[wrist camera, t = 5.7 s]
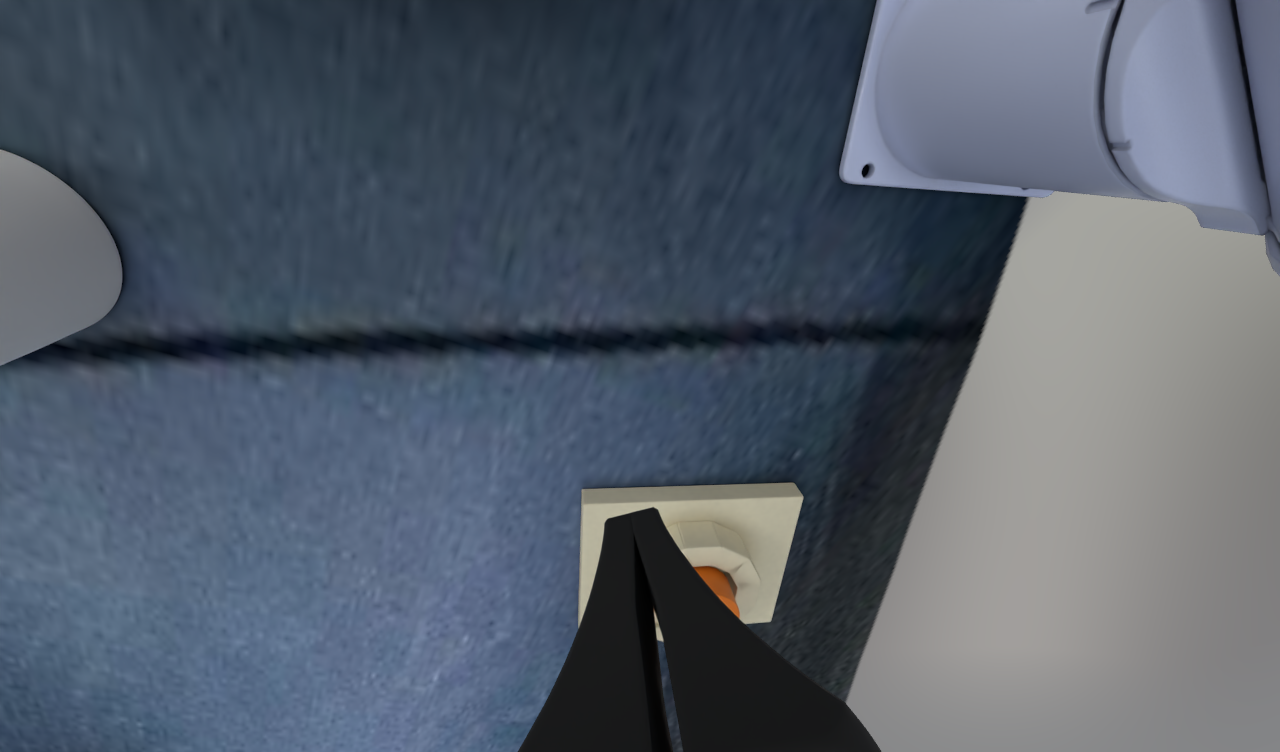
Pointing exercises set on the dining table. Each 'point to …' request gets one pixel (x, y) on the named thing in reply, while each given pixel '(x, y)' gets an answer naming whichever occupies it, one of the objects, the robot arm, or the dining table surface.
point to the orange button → (719, 586)
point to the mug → (49, 260)
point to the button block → (706, 534)
